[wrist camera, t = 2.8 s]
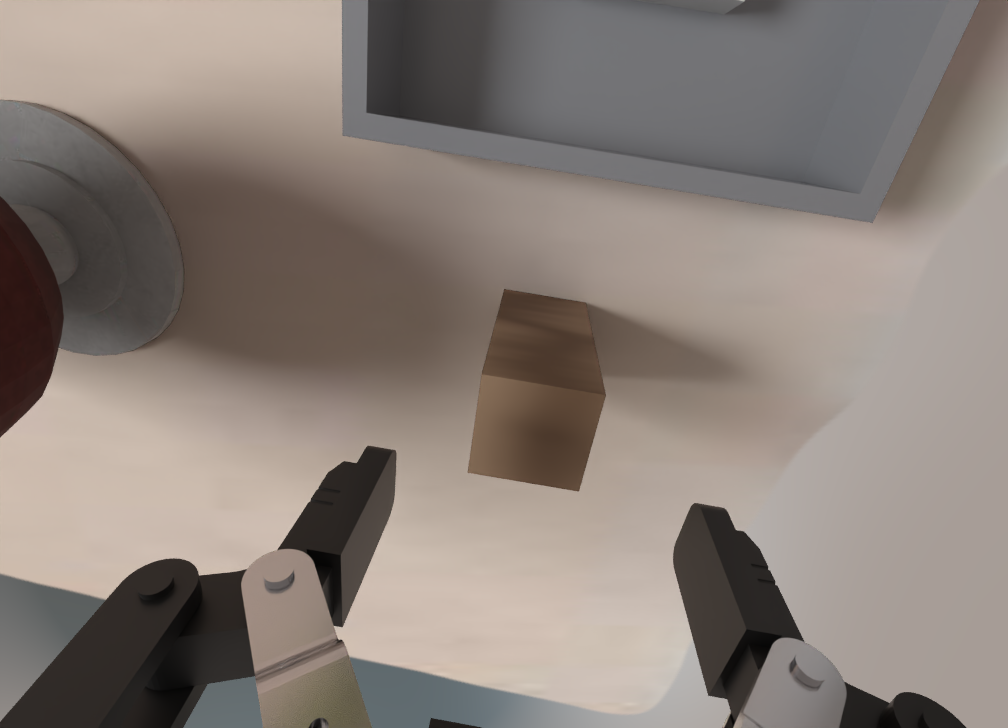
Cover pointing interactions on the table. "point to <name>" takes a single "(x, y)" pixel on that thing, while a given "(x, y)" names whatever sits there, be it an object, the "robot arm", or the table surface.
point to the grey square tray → (660, 89)
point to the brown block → (538, 393)
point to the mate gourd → (75, 251)
